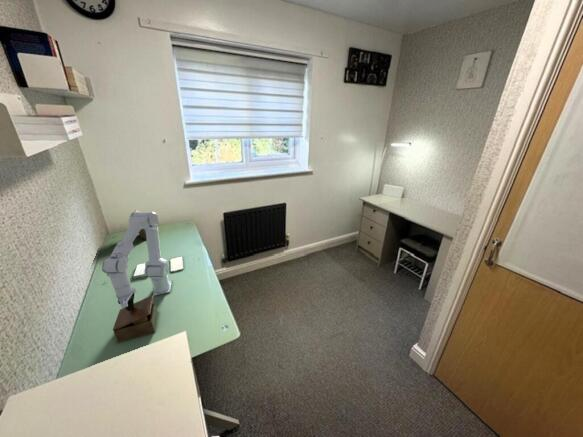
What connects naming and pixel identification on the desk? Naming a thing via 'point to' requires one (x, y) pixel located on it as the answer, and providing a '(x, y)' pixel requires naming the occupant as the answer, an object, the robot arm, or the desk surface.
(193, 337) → the desk surface
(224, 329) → the desk surface
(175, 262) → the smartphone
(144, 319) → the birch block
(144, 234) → the owl
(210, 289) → the desk surface
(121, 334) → the keepsake box
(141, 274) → the hard drive
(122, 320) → the box lid
